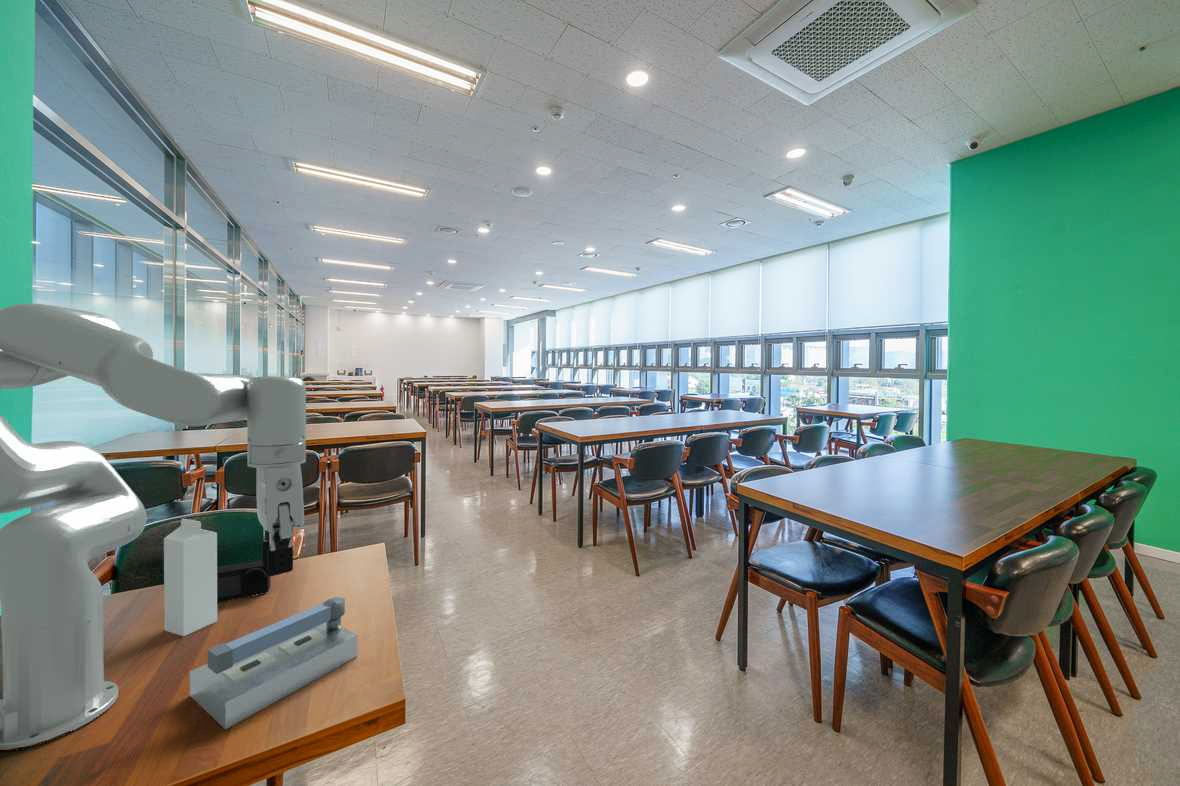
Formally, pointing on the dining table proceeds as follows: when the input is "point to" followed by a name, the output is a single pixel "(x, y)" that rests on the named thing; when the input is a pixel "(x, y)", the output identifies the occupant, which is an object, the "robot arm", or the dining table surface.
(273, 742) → the dining table surface
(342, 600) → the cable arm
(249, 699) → the plate
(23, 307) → the robot arm
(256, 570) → the digital camera
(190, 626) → the milk
